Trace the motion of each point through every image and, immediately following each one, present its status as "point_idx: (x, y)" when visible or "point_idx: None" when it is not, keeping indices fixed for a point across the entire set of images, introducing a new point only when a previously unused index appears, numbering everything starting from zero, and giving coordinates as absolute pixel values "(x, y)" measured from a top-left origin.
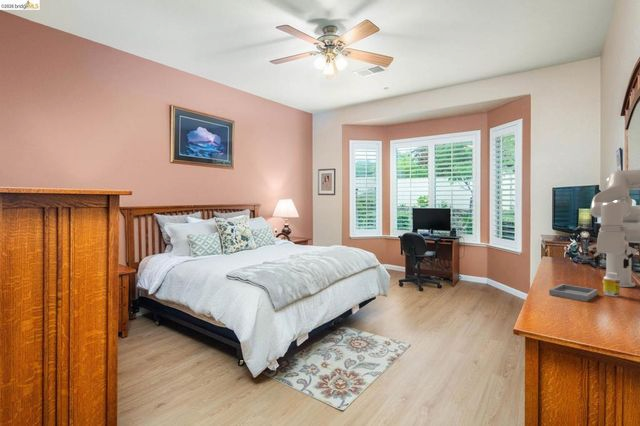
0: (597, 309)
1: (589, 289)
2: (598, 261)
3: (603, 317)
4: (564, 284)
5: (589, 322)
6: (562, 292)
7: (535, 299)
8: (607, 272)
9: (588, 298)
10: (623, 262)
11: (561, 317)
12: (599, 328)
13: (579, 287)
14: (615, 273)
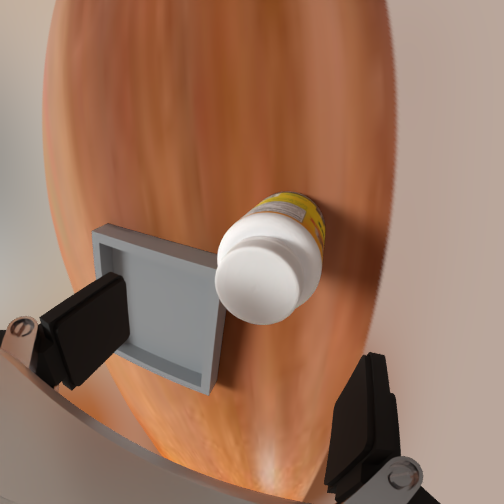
0: (253, 431)
1: (191, 271)
2: (104, 342)
3: (267, 463)
4: (99, 234)
5: (248, 478)
6: (142, 365)
7: (125, 390)
8: (223, 268)
9: (216, 370)
10: (328, 455)
11: (208, 467)
12: (263, 488)
13: (151, 259)
14: (286, 289)
